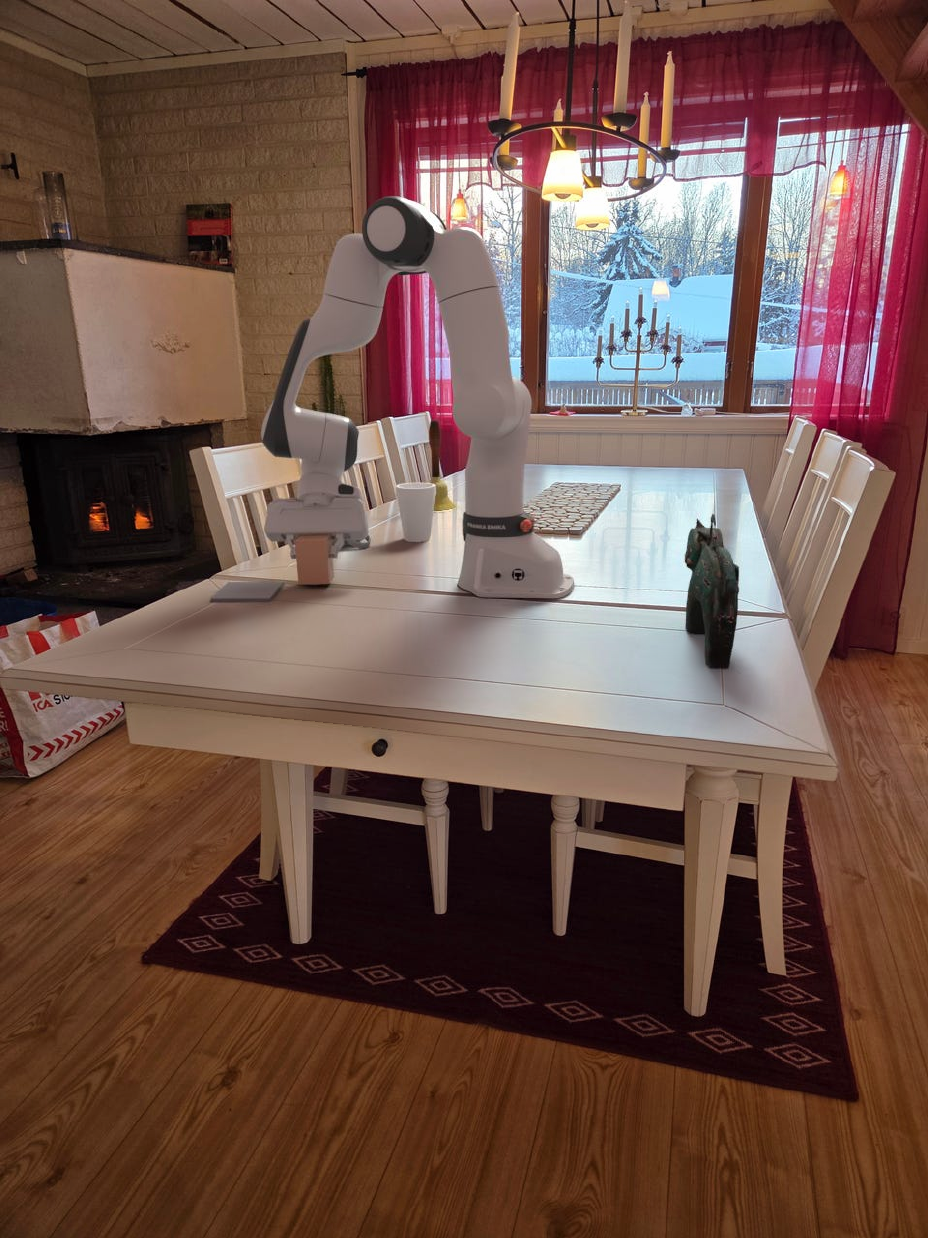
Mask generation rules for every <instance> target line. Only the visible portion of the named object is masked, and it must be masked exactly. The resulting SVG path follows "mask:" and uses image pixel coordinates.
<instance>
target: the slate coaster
mask: <svg viewBox="0 0 928 1238" xmlns="http://www.w3.org/2000/svg"><path fill="white" fill-rule="evenodd" d="M284 586H285V581H232V582H231V581H228V582H227V583H226V584H225V585H223V586H222V587H221V588H220V590H218V591H217V592H216V593H215V594H214V595H212V596H211V597H210V598H209V599H210V602H213V603H214V602H217V603H218V602H222V603H223V602H225V603H227V602H235V603H236V602H271V601H272V600H273V598H274V597H275V596H276V595H277V594H278V592H279V591H281V589H282V588H283V587H284Z"/></svg>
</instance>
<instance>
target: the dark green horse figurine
mask: <svg viewBox="0 0 928 1238" xmlns="http://www.w3.org/2000/svg"><path fill="white" fill-rule="evenodd" d="M695 524H696V526H695V528H691V529H690V531H689V533H688V537H687V543H686V550H685V554H684V563H685V565H686V567H687V569H689V570H690V571H691V576H690V580H689V583H688V589H687V599H686V605H685V606H686V607H685V630H686V632H687V633H688V634H690V635H698V636H699V635H704V660H705V661H704V662H705V665H706V666H707V667H708V668H710V669H729V667H730V664H731V655H732V652H733V648H734V640H735V634H736V629H737V622H738V615H739V614H738V611H739V610H738V609H739V592H740V587H739V581H740V567H739V565H737V564H735V563H734V560H733V557H732V555H731V553H730V551H729V550H728V549H727V548H725V545H724V539H723V533H722V530H721V529H720V528H716V526H717V521H716V515H715V514H713V513H711V517H710V527H706V526H704V525H703V524H702V522H701V521H700V519H698V518H696V523H695ZM713 526H714V527H713Z"/></svg>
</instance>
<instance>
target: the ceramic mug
mask: <svg viewBox="0 0 928 1238" xmlns="http://www.w3.org/2000/svg"><path fill="white" fill-rule="evenodd" d="M364 540H366V542H363V540H345V543H344V545H343V547H346V546H352V547H353V548H356V549H366V548H369V547H370V546H371V542H372V537H371V536H370V535H369V534H368V536H367V537H366V538H365V539H364ZM336 542H337V541H336V540H331V543H332V547H333V546H334V544H335V543H336Z"/></svg>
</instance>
